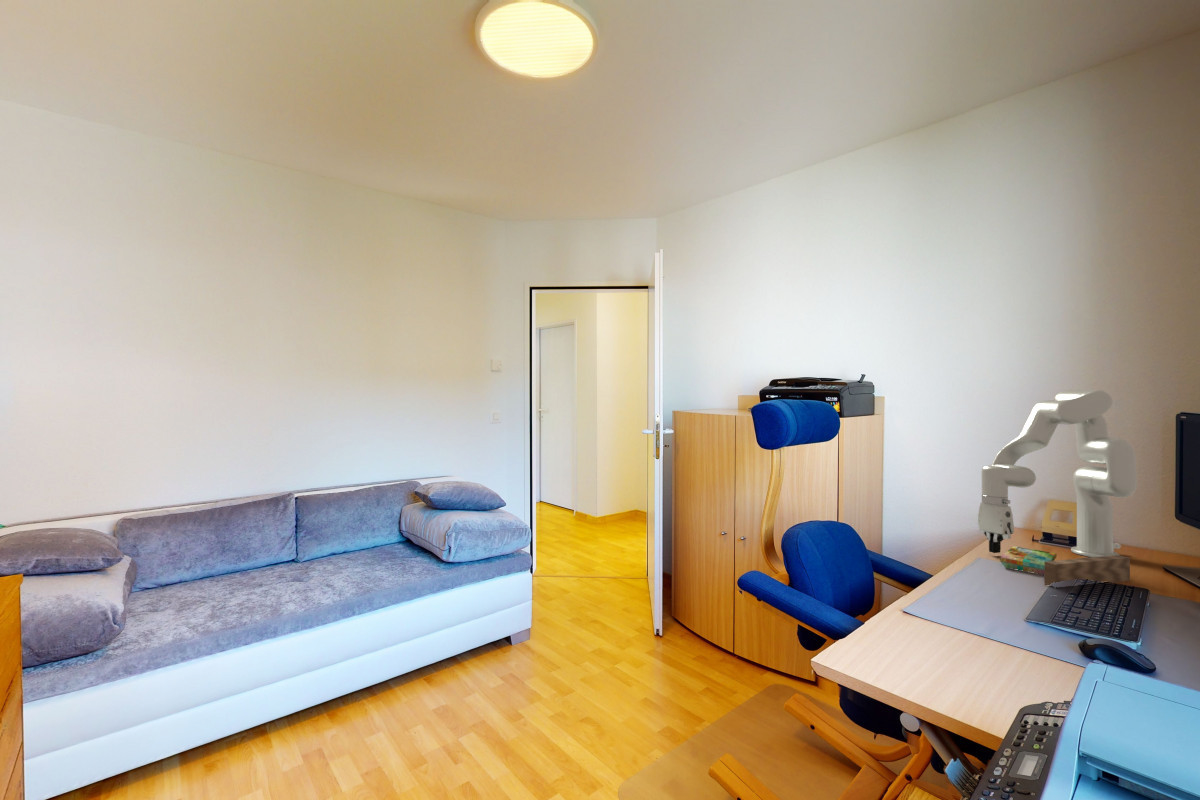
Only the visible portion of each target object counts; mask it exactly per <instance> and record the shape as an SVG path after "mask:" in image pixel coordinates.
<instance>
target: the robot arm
mask: <svg viewBox="0 0 1200 800" xmlns="http://www.w3.org/2000/svg"><path fill="white" fill-rule="evenodd" d="M1112 406H1113V397H1112V396H1111V395H1110V393H1109V392H1107V391H1104V390H1103V389H1102V390H1101V389H1075V390H1072V389H1071V390H1064V391H1060V392H1058V393H1057V394H1056V395H1055V396H1054V400H1042V401H1038V402H1037V403H1035V405H1034V406H1033V407H1032V409H1031V410H1030V413H1029V415H1028V417H1027V419H1026V421H1025V423H1024V425H1023V427H1022V429H1021V431H1020V433H1019V435H1018V436H1017V437H1016V438H1014V439H1013V440H1011V441H1010V442H1008V443H1007V444H1006V445H1005V446H1004V447H1003V448H1001V449H1000V450H999V452H998V453H997V454H996V456H994V457H995V458H994V460H993V462H992V464H991V465H984V466H983V467H982V468H981V502H980V503H979V508H978V513H977V514H978V515H977V526H978V527H977V528H979V530H978V532H979V533H981V534H983V535H984V536H985V537H986V540H987V541H988V550H989V552H988V553H993V554H1000V553H1001V550H1002V549H1001V543H1002V542H1003V541H1004V540H1008V539H1011V538H1012V534H1014V531H1015V525H1014V517H1013V511H1012V508H1011V506H1010V504H1011V500H1010V499H1009V487H1011V488H1012V487H1013V488H1021V489H1024V488H1029V487H1031V486H1033V485H1034V484H1035V482H1036V480H1037V476H1036V474H1035V472H1034V471H1033V470H1032V469H1030V468H1029V467H1027V466H1021V465H1016V463H1017V462H1018V461H1019V460H1020V459H1021V458H1022V457H1024V456H1026V455H1027V454H1030V453H1034V452H1037V451H1039V450H1041V449H1044V448H1046V447H1047V446H1048V445H1049V443H1050V441H1051V439H1052V438H1053V435H1054V433H1055V431H1056V429H1057V428H1058V425H1067V426H1069V425H1074V429H1075V439H1076V440H1075V442H1076V453H1077V456H1078V458H1079V459H1080V460H1082V461H1083V462H1085V463H1092V464H1099V465H1106V467H1102V466H1094V465H1093V466H1092V465H1089V466H1087V465H1086V466H1082V467H1079V468H1078V469H1076V470H1075V471H1074V472H1073V475H1072V481H1073V487H1074V491H1075V494H1076V546H1072V547H1071V548H1070V550H1071V552H1072V553H1074V554H1076V555H1080V556H1084V557H1088V558H1091V557H1102V556H1113V555H1120V554H1119V553H1118V552H1115V550H1117V549H1121V547H1122V545H1121V544H1120V543H1118V542H1115V543H1114V506H1113V502H1112V500H1111V498H1110V497H1113V498H1115V497H1116V498H1128V497H1131V496H1132V495H1133V494H1135V492H1136V490H1137V487H1138V472H1137V471H1138V469H1137V456H1136V451H1135V448H1134V446H1133V445H1132V444H1131V443H1130V442H1129V441H1127V440H1125V439H1123V438H1120V437H1119V438H1118V437H1110V436H1109V431H1108V430H1109V429H1108V423H1107V421H1106V419H1105V417H1104V415H1103V414H1105V413H1107V412H1108V411H1110V410H1111V408H1112ZM1109 496H1110V497H1109Z"/></svg>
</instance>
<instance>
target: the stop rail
mask: <svg viewBox="0 0 1200 800" xmlns="http://www.w3.org/2000/svg"><path fill="white" fill-rule="evenodd" d="M1043 575H1044V577H1043V578H1044V586H1046V585H1050V584H1051V583H1053V582H1055V583H1056V582H1060V581H1066V580H1074V579H1088V580H1096V581H1107V582H1112V583H1121V582H1130V581H1131V558H1130V557H1128V556H1123V555H1120V554H1119V555H1113V556H1102V557H1081V558H1071V559H1060V560H1054V561H1046V562H1044V574H1043Z"/></svg>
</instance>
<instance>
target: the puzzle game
mask: <svg viewBox="0 0 1200 800" xmlns="http://www.w3.org/2000/svg"><path fill="white" fill-rule="evenodd" d="M1057 554H1058V553H1056V552H1050V551H1045V550H1039V549H1033V548H1027V547H1022V546H1021V547H1020V546H1016V545H1015V546H1014V545H1013V546H1012V547H1011V548H1009V549H1008V550H1006V552H1004V553H1003V554H1002V555H1001V556H1000V558H999V559H1000V563H1001V565H1003V566H1004V568H1005V567H1007V568H1006V569H1008V568H1013V569H1018V570H1017V571H1019V570H1023V571H1022V572H1024V571H1029V572H1034V573H1038V574H1037V575H1040V574H1043V575H1044V562H1046V561H1056V558H1057ZM1013 569H1012V570H1013ZM1029 572H1028V573H1029ZM1034 573H1033V574H1034Z"/></svg>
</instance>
